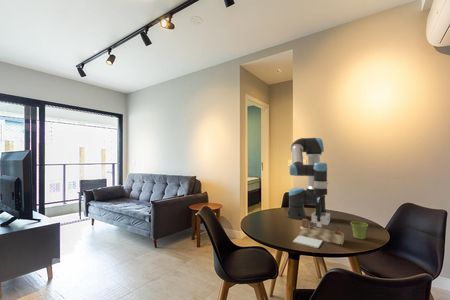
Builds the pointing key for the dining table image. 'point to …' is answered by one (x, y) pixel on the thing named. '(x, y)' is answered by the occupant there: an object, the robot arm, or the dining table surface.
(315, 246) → the rubber mat
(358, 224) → the plant pot
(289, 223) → the dining table surface
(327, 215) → the lever cap
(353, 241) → the dining table surface
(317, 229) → the hand plane
